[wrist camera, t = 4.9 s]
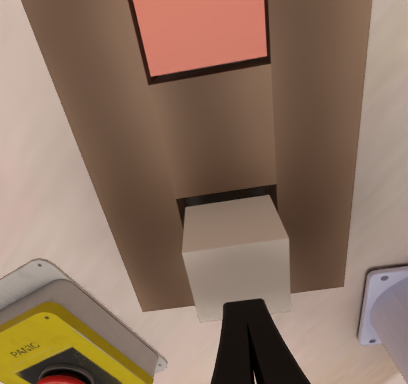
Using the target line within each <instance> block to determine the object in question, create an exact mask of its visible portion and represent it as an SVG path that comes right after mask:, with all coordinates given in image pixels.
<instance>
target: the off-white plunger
mask: <svg viewBox="0 0 408 384" xmlns="http://www.w3.org/2000/svg"><path fill="white" fill-rule="evenodd" d="M182 256H183V260H184V264H185V267H186V271H187V275H188V279H189V283H190V287H191V291H192V295H193V299H194V302H195V306H196V310H197V314H198V318H199V322H208V321H216V320H222V319H223V305H224V304H225V303H226V302H234V301H242V300H250V299H258V298H261V299H263V300H264V301H265V304H266V306H267V309H268V311H269V313H270V314H273V313H281V312H290V311H291V299H290V258H289V237H288V235H287V233H286V230H285V228H284V226H283V224H282V222H281V219H280V217H279V215H278V213H277V211H276V208H275V206H274V204H273V202H272V199H271V197H270V195H264V196H257V197H250V198H244V199H237V200H230V201H223V202H217V203H210V204H203V205H196V206H190V207H185V219H184V231H183V244H182Z"/></svg>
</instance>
